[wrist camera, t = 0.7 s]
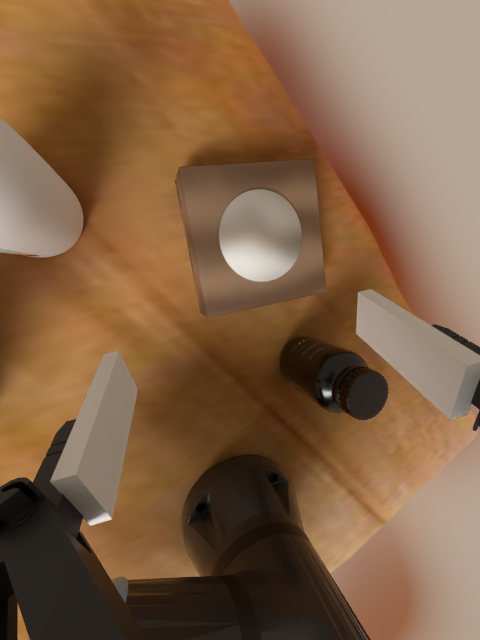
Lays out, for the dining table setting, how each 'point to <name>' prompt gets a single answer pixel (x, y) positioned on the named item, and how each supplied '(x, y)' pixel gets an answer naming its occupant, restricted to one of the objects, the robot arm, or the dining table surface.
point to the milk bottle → (34, 202)
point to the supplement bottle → (334, 377)
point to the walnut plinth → (252, 233)
